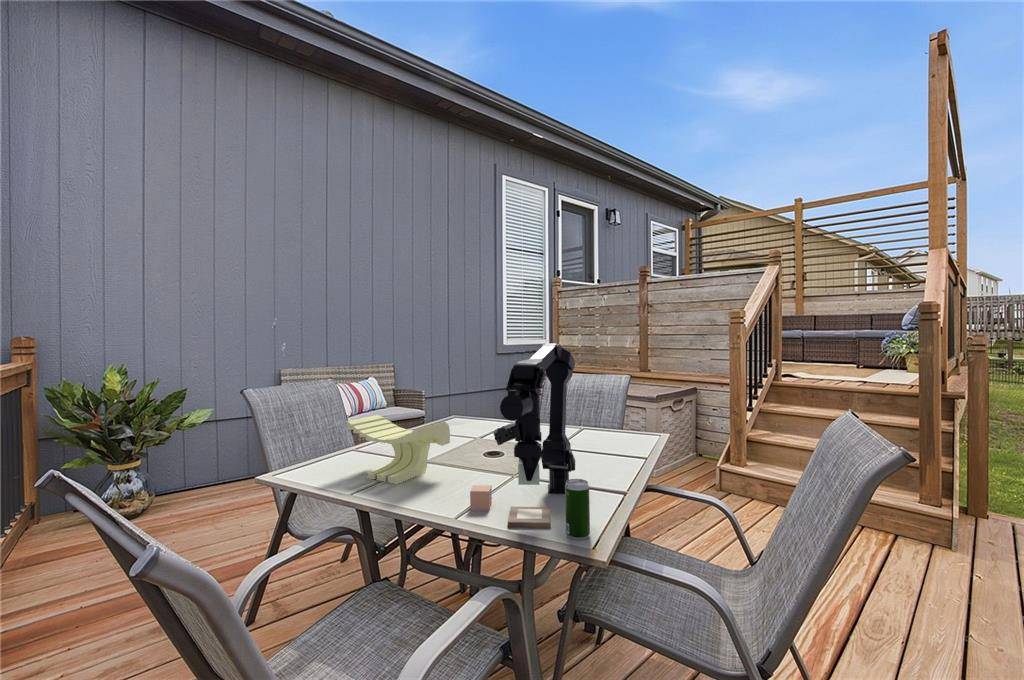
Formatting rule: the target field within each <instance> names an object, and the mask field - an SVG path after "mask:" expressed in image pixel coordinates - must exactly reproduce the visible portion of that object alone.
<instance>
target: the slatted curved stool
mask: <svg viewBox="0 0 1024 680" xmlns="http://www.w3.org/2000/svg"><path fill="white" fill-rule="evenodd" d="M346 421H347V430H351V431H353V432H352V433H353V434H359V437H360V438H365V441H367V442H375V443H380V444H381V443H382V444H390V445H391V446H392V448H393V452H394V457H393V459H392V460H391V462H389V463H388V464H386V465H384V466H383V467H381V468H379V469H375V470H373V471H370V472H368V474H367V476H366V479H367V478H369V479H368V480H372V479H376V481H377V480H379V481H378V482H382V481H384V483H388V482H389V484H392V483H394V485H398V483H399V484H401V483H404V482H406V481H408V480H407V479H409V480H411V479H413V477H414V478H416V477H419V476H421V475H420V474H422V473H424V474H425V473H426V472H427V468H428V456H429V451H430V447H431V444H436V445H438V446H441V447H442V446H445V445H448V444H450V443H451V430H450V425H449V424H448V423H447V422H446V421H441V422H438V423H434V424H430V425H426V426H422V427H418V428H416V429H413V430H412V429H407V428H403V427H401V426H398V425H397V424H395V423H393V422H392V420H391V421H390V420H388V419H387V418H385V417H384V416H381V415H377V414H375V415H371V416H365V417H359V418H355V419H351V420H346ZM418 475H419V476H418ZM422 475H423V474H422ZM415 476H416V477H415ZM410 478H411V479H410ZM405 480H406V481H405ZM386 481H387V482H386ZM403 481H404V482H403Z"/></svg>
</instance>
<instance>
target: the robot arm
mask: <svg viewBox="0 0 1024 680" xmlns="http://www.w3.org/2000/svg"><path fill="white" fill-rule="evenodd" d="M575 361H576V360H575V358H574V356H573V355H572V353H571V352H570V351H568V350H566V349H565V348H563V347H562V345H561V344H559V343H543V344H541V346H540V348H539V349H538V350H537V351H536V352H535V353H534V354H533V355H532V356H531V357H530V358H527V359H524V360H523V359H522V360H519V361H517V362H515V363H514V364H513V366H512V368H511V370H510V373H509V377H508V381H507V384H506V388H505V391H506V392H507V396H505V397H503V399H502V400H501V402H500V405H499V411H500V414H501V415H502V417H503V418H504V419H506V420H507V421H511V422H512V421H514V423H510V424H507V425H502V426H501V427H498V428H497V429H495V430H494V431H493V436H494V440H495V441H496V444H497V446H501V445H503V444H504V443H506V442H509V441H512V440H514V441H515V442H517V443H516V444H515V445H514V447H513V457H514V458H518V460H519V459H521V460H522V463H523V467H524V471H525V475H526V480H527V481H531V480H532V478H533V475H534V472H535V470H536V467H537V464H538V462H539V463H540V459H541V464H542V469H543V470H548V474H549V475H548V476H549V477H548V478H549V482H548V484H547V493H549V494H550V493H551V494H555V493H556V494H565V485H566V481H567V480H569V479H570V473H571V472H572V471H573V472H574V471H576V465H577V464H576V458H575V456H574V453H573V451H572V448H571V445H572V444H571V443H570V440H569V438H568V437H567V435H566V427H567V426H566V425H567V424H566V422H567V421H566V420H567V393H568V392H567V391H568V390H567V389H568V384H569V381H570V380H571V378H572V377H573V373H574V370H575V365H576V362H575ZM546 377H547V380H548V381H549V383H550V397H549V399H550V402H549V404H550V405H549V425H548V426H549V429H548V430H549V432H548V435H547V437H546V439H544V440H542V439H543V438H542V431H541V393H542V390H541V389H542V388H543V385H544V384H543V383H544V382H545V378H546ZM541 442H542V443H541Z"/></svg>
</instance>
